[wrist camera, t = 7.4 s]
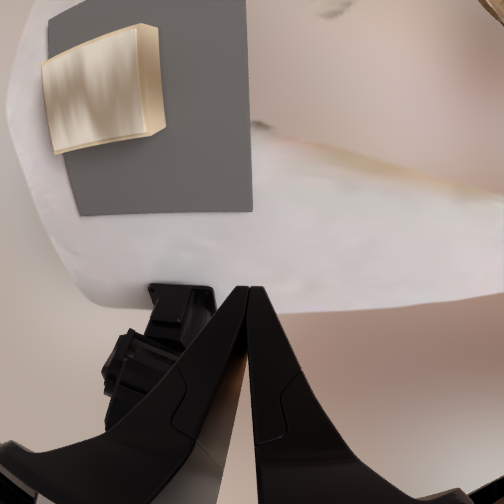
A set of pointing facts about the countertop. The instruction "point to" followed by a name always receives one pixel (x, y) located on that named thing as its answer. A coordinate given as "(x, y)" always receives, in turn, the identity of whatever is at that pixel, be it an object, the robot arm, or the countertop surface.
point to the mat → (171, 111)
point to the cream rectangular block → (105, 90)
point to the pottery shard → (494, 8)
